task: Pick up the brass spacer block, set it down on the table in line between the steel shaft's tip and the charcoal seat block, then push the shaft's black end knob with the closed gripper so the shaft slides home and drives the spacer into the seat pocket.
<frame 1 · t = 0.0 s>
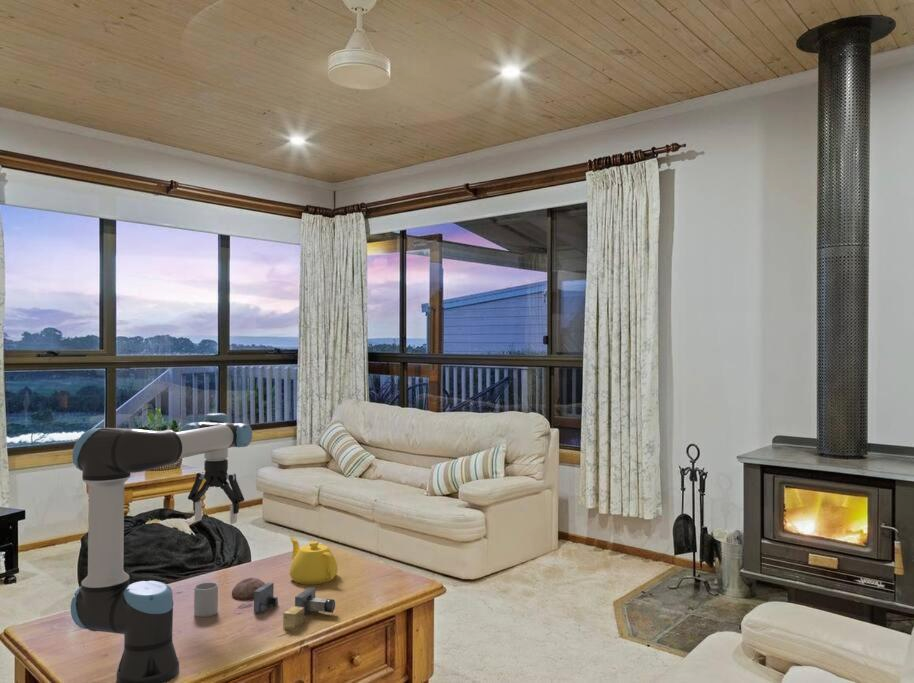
hand: (215, 522, 233), 28 cm above the table, fingers open, 13 cm apart
shaft: (315, 604, 225), point 3 cm above the table, slide at 0.0 cm
spacer: (293, 626, 215), on the table
housing: (288, 610, 227), on the table
decorative stone: (249, 595, 243), on the table
teapot: (311, 578, 261), on the table
cup: (204, 612, 226), on the table
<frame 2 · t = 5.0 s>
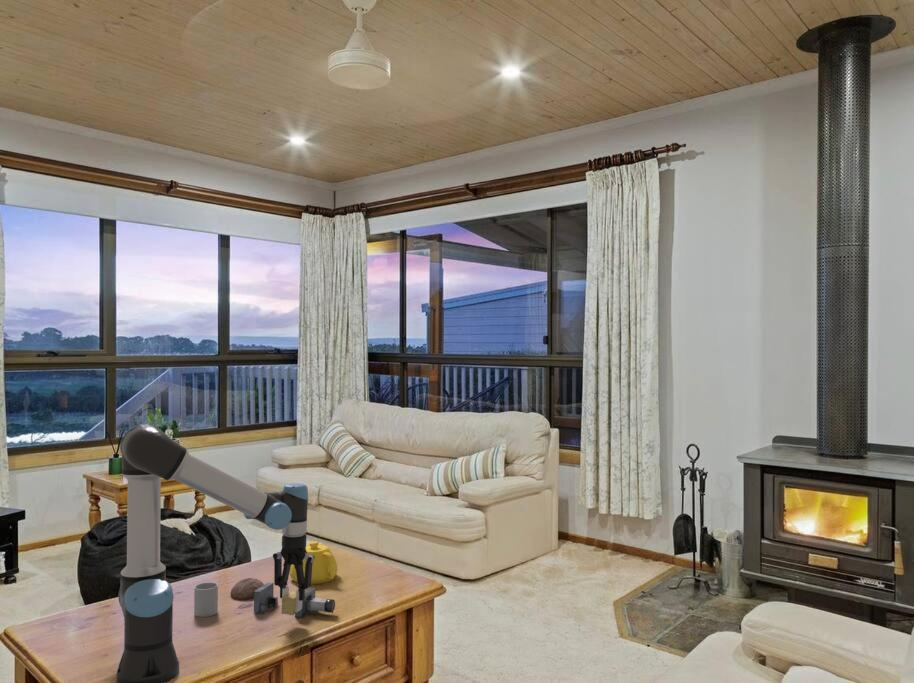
hand: (291, 609, 214), 5 cm above the table, fingers closed on spacer, 4 cm apart
spacer: (292, 610, 215), point 5 cm above the table, touching gripper
everything else where it was.
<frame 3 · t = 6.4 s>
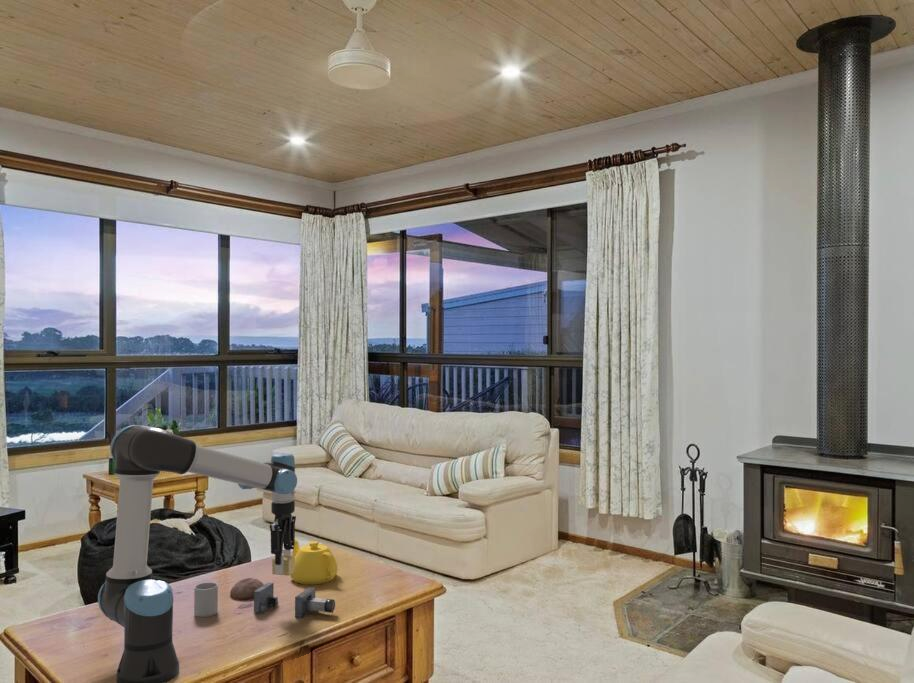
hand: (283, 571, 228), 13 cm above the table, fingers closed on spacer, 4 cm apart
spacer: (283, 572, 228), point 12 cm above the table, touching gripper
everything else where it was.
when the fingers open (0 cm above the table, at t = 8.0 s): spacer stays where it is, on the table.
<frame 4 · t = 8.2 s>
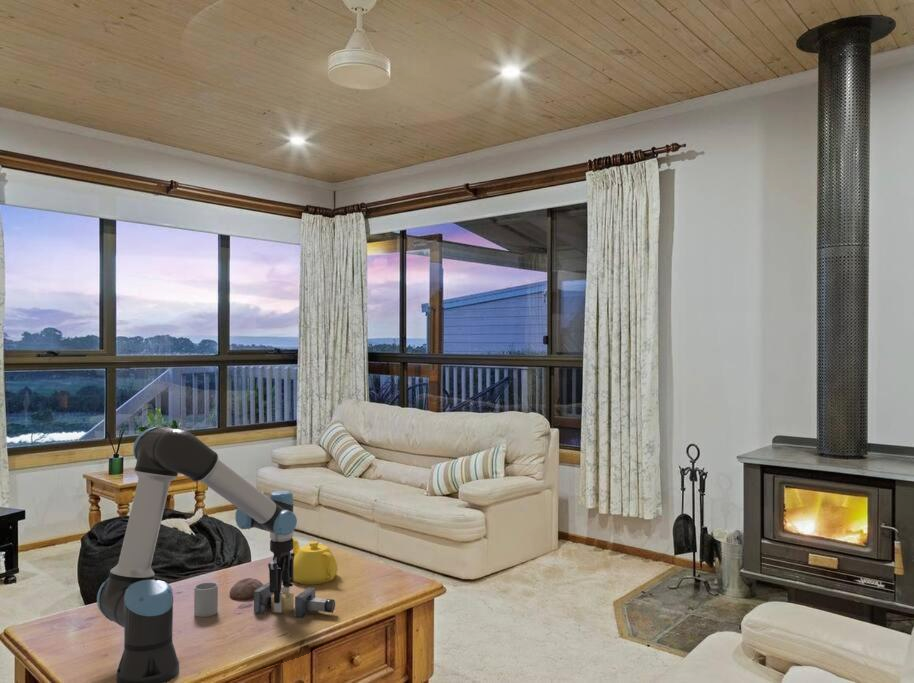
hand: (281, 609, 228), 0 cm above the table, fingers open, 4 cm apart
spacer: (282, 610, 228), on the table, touching gripper
everything else where it was.
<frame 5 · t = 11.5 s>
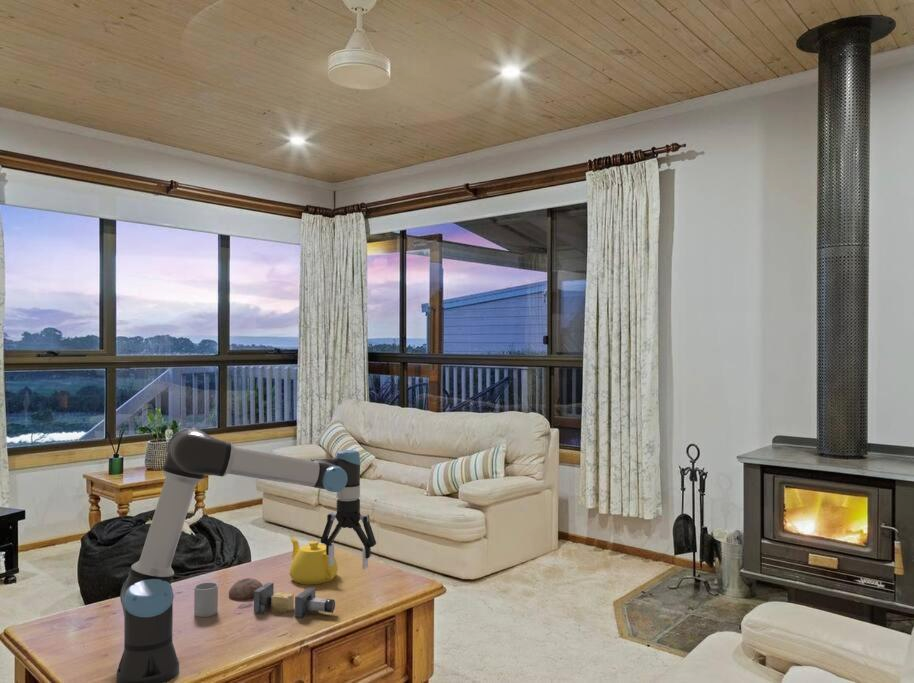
hand: (348, 566, 222), 16 cm above the table, fingers open, 11 cm apart
spacer: (282, 610, 228), on the table
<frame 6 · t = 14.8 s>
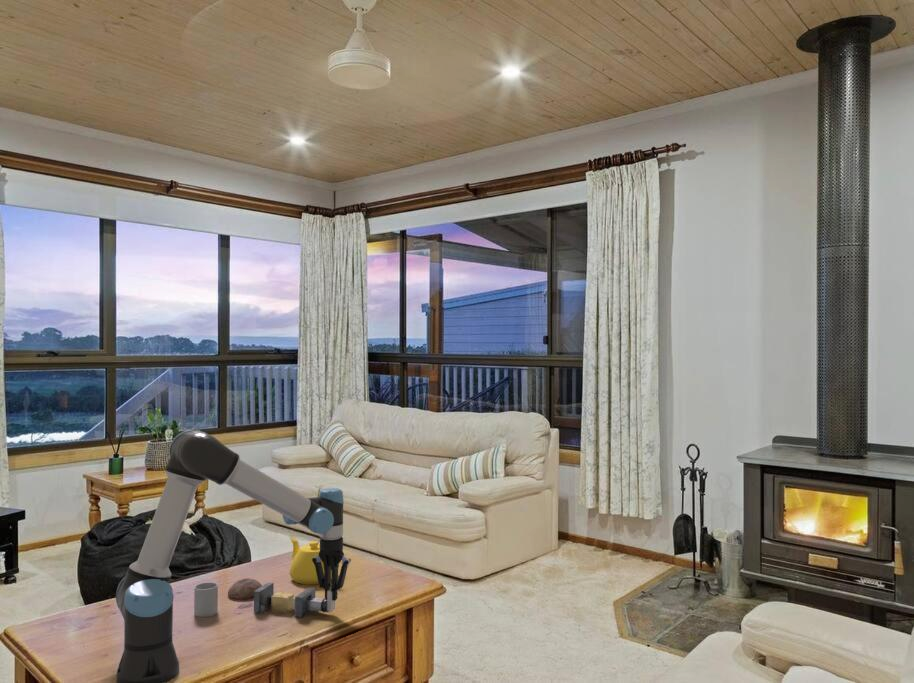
hand: (331, 609, 223), 2 cm above the table, fingers closed
shaft: (312, 604, 225), point 3 cm above the table, slide at 1.3 cm, touching gripper
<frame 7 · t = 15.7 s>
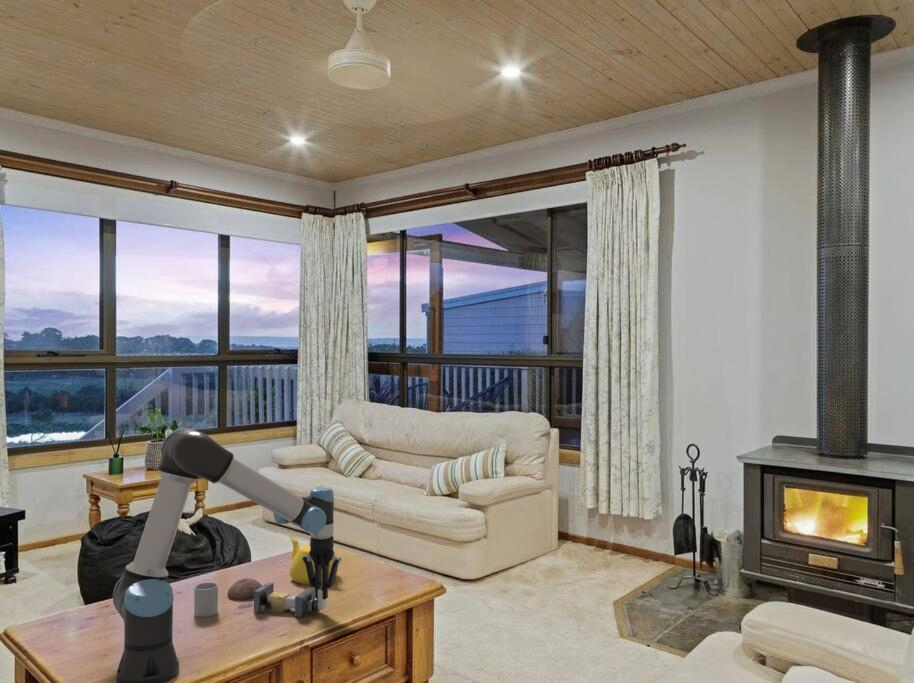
hand: (321, 608, 224), 2 cm above the table, fingers closed
shaft: (303, 603, 226), point 3 cm above the table, slide at 4.6 cm, touching gripper, spacer
spacer: (278, 609, 229), on the table, touching shaft
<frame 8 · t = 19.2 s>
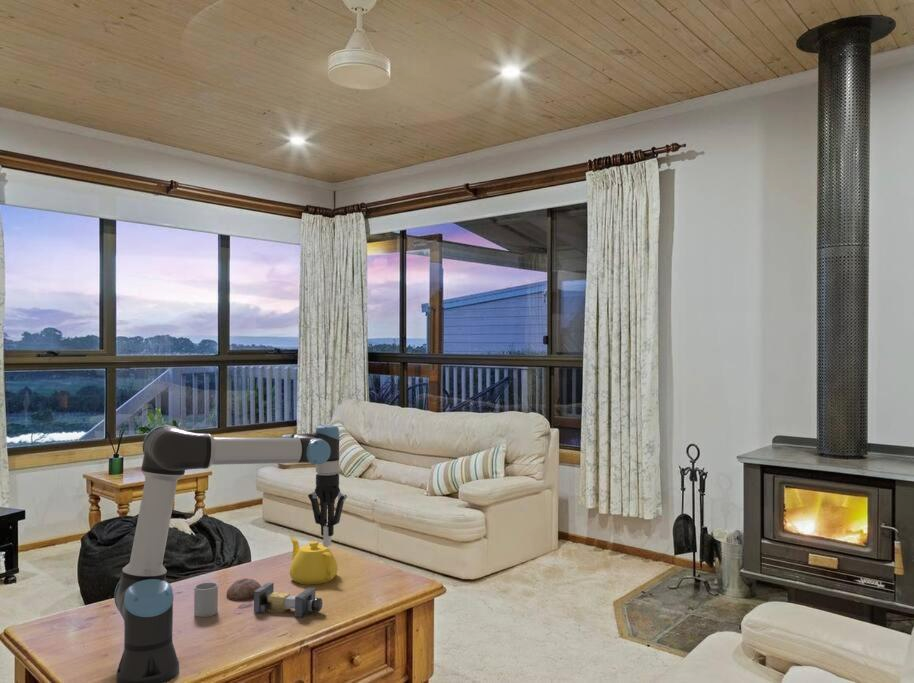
hand: (327, 545, 224), 22 cm above the table, fingers closed
shaft: (303, 603, 226), point 3 cm above the table, slide at 4.6 cm
spacer: (278, 609, 229), on the table
at the end: shaft slide at 4.6 cm; spacer 0.7 cm from the target spot, on the table; spacer tilted 0° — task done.
